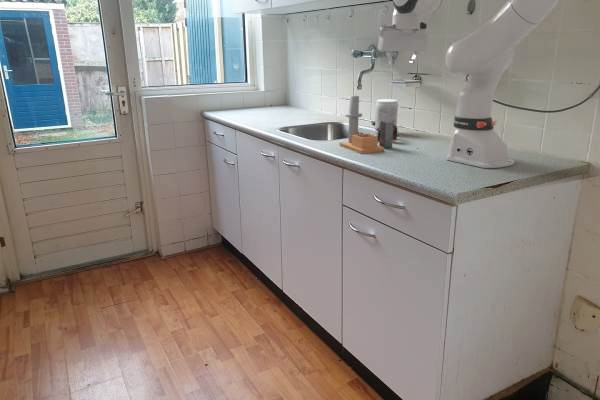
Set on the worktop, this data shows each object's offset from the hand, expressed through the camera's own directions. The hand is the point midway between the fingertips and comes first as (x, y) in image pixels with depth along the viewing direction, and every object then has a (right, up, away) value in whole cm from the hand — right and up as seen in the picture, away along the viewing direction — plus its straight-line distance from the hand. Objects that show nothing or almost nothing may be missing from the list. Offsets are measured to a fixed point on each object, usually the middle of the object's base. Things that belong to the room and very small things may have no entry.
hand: (401, 64), depth 168 cm
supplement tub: (0, -21, +35) cm, 41 cm away
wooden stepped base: (-15, -31, +6) cm, 35 cm away
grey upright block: (-5, -31, +6) cm, 32 cm away
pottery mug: (-2, -26, +19) cm, 33 cm away
